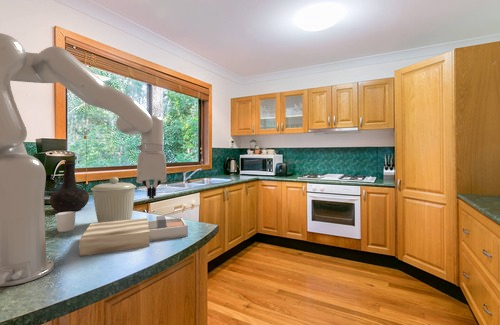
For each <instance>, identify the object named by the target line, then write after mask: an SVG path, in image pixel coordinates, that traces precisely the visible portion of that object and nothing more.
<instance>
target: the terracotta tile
mask: <svg viewBox="0 0 500 325" xmlns="http://www.w3.org/2000/svg"><path fill="white" fill-rule="evenodd" d="M177 226H184V225H183V223H182V222H181V221H180V222H172V223H166V228H169V227H177Z"/></svg>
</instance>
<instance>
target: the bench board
mask: <svg viewBox="0 0 500 325" xmlns="http://www.w3.org/2000/svg"><path fill="white" fill-rule="evenodd" d="M148 221H149V220H148V217H142V218H134V219H132V218H131V220H122V221H112V222H102V223H98V222H96V223H95V222H94V223H93V222H92V223H90V224H89V225H88V227H87V228H86V230H85V231H84V232H83V234H82V235H81V237H80V238H79V241H78V242H79V244H78V245H79V257H83V256H84V257H85V256H90V255H91V256H92V255H97V254H98V255H99V254H105V253H112V252H117V251H118V252H120V251H125V250H133V249H139V248H146V247H150V240H149V226H148Z"/></svg>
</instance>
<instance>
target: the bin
mask: <svg viewBox="0 0 500 325" xmlns="http://www.w3.org/2000/svg"><path fill="white" fill-rule="evenodd" d="M180 221H181V222H182V223H183V225H184V226H177V227H169V228H160V229H157V225H156V219H154V220H148V226H149V242H156V241H163V240H170V239H177V238H178V239H179V238H184V237H188V236H189V231H188V226H189V225H188V224H187V222H186V221H185V220H184V218H183V217H172V218H166V223H172V222H180Z"/></svg>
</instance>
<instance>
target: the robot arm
mask: <svg viewBox="0 0 500 325" xmlns="http://www.w3.org/2000/svg"><path fill="white" fill-rule="evenodd" d="M11 82H21V83H22V82H23V83H34V84H35V83H36V84H57V83H59V84H60V85H61V86H63V87H64V88H65V89H67V90H68V91H69V92H71V93H72V94H73V95H75V96H76V97H77V98H79V99H80V100H81V101H82V102H84V103H85V104H86V105H88V106H89V105H90V106H91V107H95V108H98V109H102V110H106V111H108V112H111V113H113V114H115V115H117V116H118V117H117V119H116V122H115V125H116V128H117V129H118V131H119V132H121V133H122V134H124V135H141V137H140V138H141V141H140V142H141V144H140V145H137V146H136V149H137V150H139V151H140V152H138V155H137V156H138V157H137V166H136V181H135V182H136V183H137V184H141V185H142V184H143V186H144V187H146V188H147V190H146V197H148V199H149V200H151V199H155V197H157V187H158V186H159V185H160V184H163V183H166V182H168V180H167V158H166V153H164V152H163V149H164V148H163V147H164V146H163V145H164V119H163V118H162V117H160V116H157V115H150V113H149V112H148V111H147V110H146V109H145V108H144V107H143V106H142V105H141V104H140V103H138V102H137V101H136V100H135V99H134V98H133V97H131V96H129V95H127V94H126V93H124V92H123V91H121V90H118V89H117V88H114V87H112V86H110V85H109V84H107V83H105V82H104V81H103V80H102V79H100V77H99V76H97V75H96V73H94V72H93V71H92V70H90V69H89V68H88V67H87V66H85V64H83V63H82V61H80V59H78V58H77V57H75V56H74V55H73V54H72V53H71V52H70V51H68V50H66V48H64V47H59V46H54V45H53V46H48V47H46V48H44V49H43V50H41V51H40V52H37V53H35V52H27V51H25V48H24V47H23V45H22V44H21V43H20V42H19V41H18V40H17V39H16V38H14V37H13V36H11V35H10V34H5V33H0V287H10V286H16V285H21V284H24V283H27V282H32V281H34V280H38V279H40V278H42V277H44V276H46V275H47V274H49V273H51V271H53V270H54V269H55V264H54V262H53V261H52V260H47V242H46V241H47V238H46V236H47V235H46V214H45V190H46V182H47V181H46V180H47V173H46V169H45V166H44V165H43V163H42V162H41V161H40V160H39V159H38V158H37V157H35V156H33V155H30V154H28V152H27V149H26V146H25V143H24V142H25V140H26V139H27V136H28V132H27V127H26V125H25V123H24V121H23V119H22V115H21V113H20V111H19V108H18V106H17V103H16V101H15V97H14V94H13V90H12V87H11ZM150 181H153V184H152V186H151V183H150Z"/></svg>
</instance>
